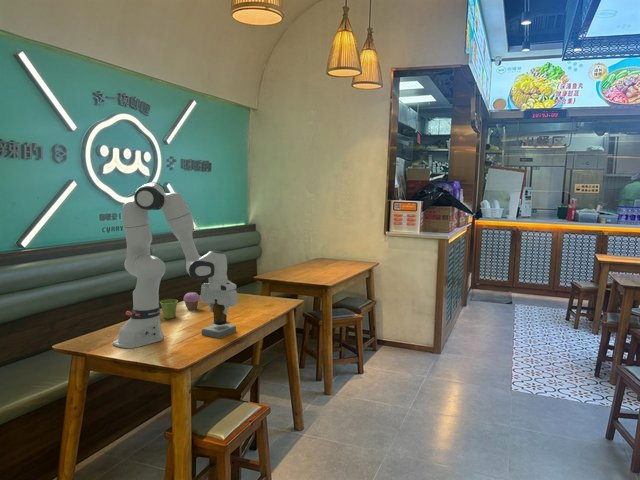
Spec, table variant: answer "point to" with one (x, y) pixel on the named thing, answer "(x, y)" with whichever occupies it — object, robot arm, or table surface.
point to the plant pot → (169, 308)
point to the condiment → (219, 314)
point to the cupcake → (191, 300)
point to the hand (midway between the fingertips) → (219, 313)
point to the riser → (218, 330)
